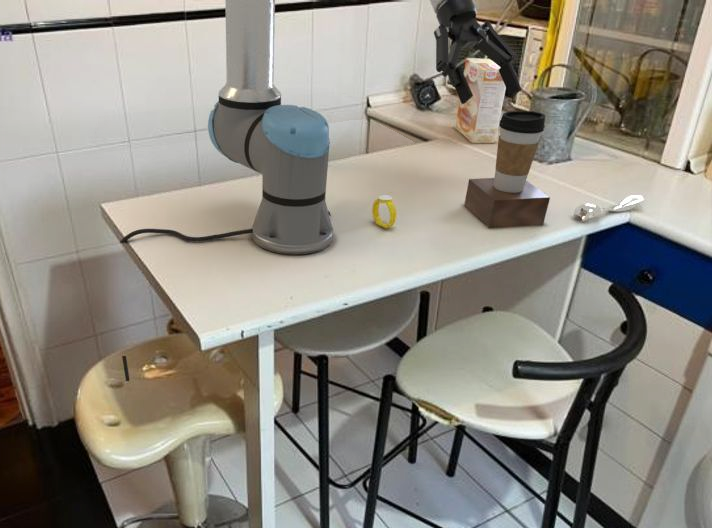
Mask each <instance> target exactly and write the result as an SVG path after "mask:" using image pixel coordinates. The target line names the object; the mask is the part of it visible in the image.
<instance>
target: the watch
mask: <svg viewBox="0 0 712 528" xmlns="http://www.w3.org/2000/svg"><path fill="white" fill-rule="evenodd" d="M381 203H382V204H386V206H387V209H388V212H389V220H388V223H385V222H383V221H382V219H381V217H380V213H379V207H380V204H381ZM371 214H372V218H373V220H374V223H375V224H376V225H378V226H380V227H382V228H384V229H389V228H392V227H393V226H394V225H395V222H396V220H397V209H396V206H395V204H394V203H393V197H392V196H390V195H386V194H385V195H384V194H382V195H378V196H377V199H375V201H373V204H372V208H371Z"/></svg>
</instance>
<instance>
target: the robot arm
mask: <svg viewBox="0 0 712 528" xmlns="http://www.w3.org/2000/svg"><path fill="white" fill-rule="evenodd" d="M429 2H430V5H431V6H432V9H433V12H434V14H435V15H436V20H437V21H438V26H437V28H436V29H435V30H434V31H433V35H434V38H435V45H436V46H435V70H436V72H437V73H441V75H442V76H443V77H444V78H446V77H448V79H449V81H450V83H451V86H452V88H454V89H455V92H456V94H457V96H458V99H459V100H460V101H461V103H462V104H465V103H466V102H467V101H468V100H469V99H470V98H471V97H473V94H472V92H471V90H470V87H469V85H468V83H467V80H466V78H465V76H464V70H463V69H462V67H461V66H457V65H458V62H459V59H460V55H461V51H462V49H465V48H469V49H470V48H471V49H472V48H473V49H474V50H475V51H478V50H479V52H481V53H482V54H483V55H485V56H486V57H487V59H490V60H492V61H493V62H494V63H496V64H497V65H498V66H499V67H501V68H500V69H499V73H500V75H501V77H502V80H503V82H504V84H505V86H506V91H507V93H508V96H509V98H514V97H515V96H516V95H517V94H518V93H520V92H521V91H522V90H523V89H522V86H521V84H520V82H519V80H518V78H517V73H516V71H515V68H514V66H513V62H514V61H515V60H516V59H517V58H518V56H517V54H516V53H515V52H514V51H513V49H512V48H511V47H510V45H508V44H507V42H506V41H505V40H504V39H503V38H502V37H501V35H499V33H497V31H496V30H495V29H494V27H493V25H492V23H491V22H490V20H485V22H484V23H481V24H480V23H479V21H478V20H477V13H478V12H477V8H476V5H475V3H474V1H473V0H429ZM275 9H276V0H225V61H226V62H225V64H226V66H225V67H226V70H225V71H226V83H225V84H224V85H223V86H222V87H221V89H220V90H219V91H218V100H217V102H216V103H215V104H214V105H213V107H214V108H213V109H211V111H210V113H209V116H208V121H207V130H208V135H209V139H210V141H211V144H212V146H213V147H214V148H215V149H216V150H217V151H218V153H220V154H221V155H222V156H224V157H226V159H228V160H229V161H231V162H233V163H235V164H240V165H241V166H244V167H246V168H248V169H250V170H252V171H255V172H256V173H259V174H261V175H262V177H261V178H262V186H261V187H262V193H261V194H262V195H261V196H262V197H261V200H260V203H259V207H258V209H257V212H256V215H255V218H254V220H253V224H252V228H248V229H241V230H234V231H229V232H223V233H219V234H218V233H216V234H211V235H206V236H188V235H186V234H183V233H181V232H179V231H178V230H177V231H176V230H173V229H164V228H163V229H162V228H140V229H137V230H133V231H131V232H129V233H127V234H126V235H125V236H124V237H123V238H122V239H121V240H120V241H119V243H120V244H125V243H126V242H127V241H128V240H130V239H131V238H133V237H135V236H137V235H142V234H164V235H165V234H167V235H173V236H176V237H178V238H180V239H181V240H184V241H187V242H206V241H207V242H208V241H211V240H218V239H219V240H220V239H225V238H229V237H236V236H240V235H246V234H247V235H248V234H252V235H251V237H252V241H253V242H254V243H255V245H257V246H259V247H261V248H262V249H264V250H266V251H269V252H273V253H276V254H282V255H307V254H312V253H317V252H320V251H322V250H325V249H326V248H328V247H329V246H331V244H332V242H333V240H334V239H333V238H334V227H333V223H332V220H331V217H332V214H331V212H330V211H329V210H328V206H327V201H326V195H327V194H326V193H327V181H328V170H329V169H328V168H329V154H330V144H331V140H330V127H329V123H328V121H327V119H326V118H325V116H323V115H322V114H321V113H319V112H318V111H316V110H314V109H312V108H310V107H305V106H298V105H294V104H282V93H281V91H280V90H279V89H278V88H277V87H276V86H275V84H274V70H275V69H274V66H275V65H274V64H275V26H276V25H275V23H276V22H275V19H276V18H275V17H276V10H275ZM449 39H450V44H449ZM121 359H122V365H123V371H124V372H123V373H124V377H125V378H124V379H125V382H126V381H129V380H130V373H129V367H128V361H127V355H122V356H121Z"/></svg>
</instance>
